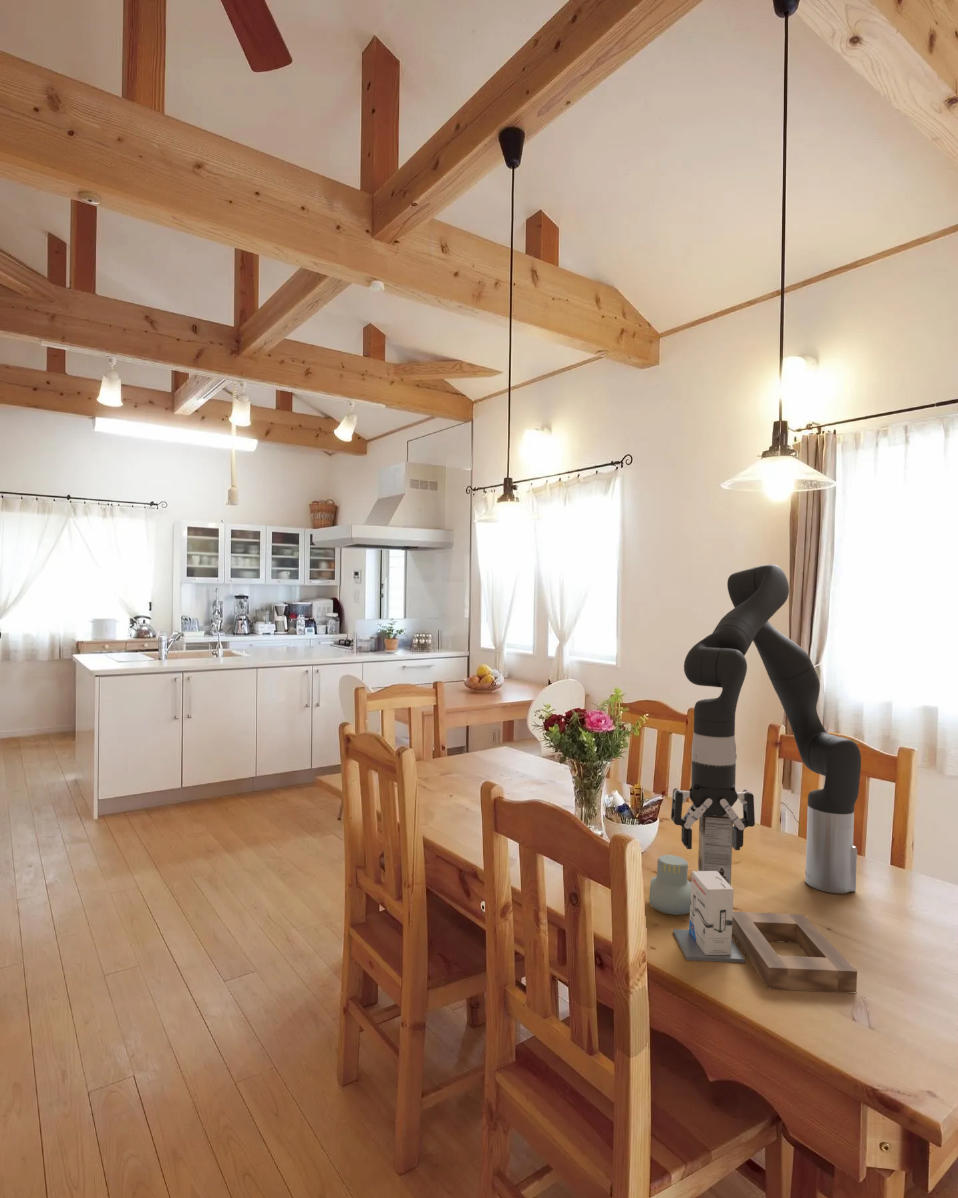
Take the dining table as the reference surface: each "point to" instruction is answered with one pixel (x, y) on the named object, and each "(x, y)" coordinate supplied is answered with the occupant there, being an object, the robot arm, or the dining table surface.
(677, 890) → the air freshener
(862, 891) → the dining table surface
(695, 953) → the coaster
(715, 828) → the coffee box
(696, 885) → the ink box
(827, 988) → the pocket
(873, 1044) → the dining table surface
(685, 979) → the dining table surface
